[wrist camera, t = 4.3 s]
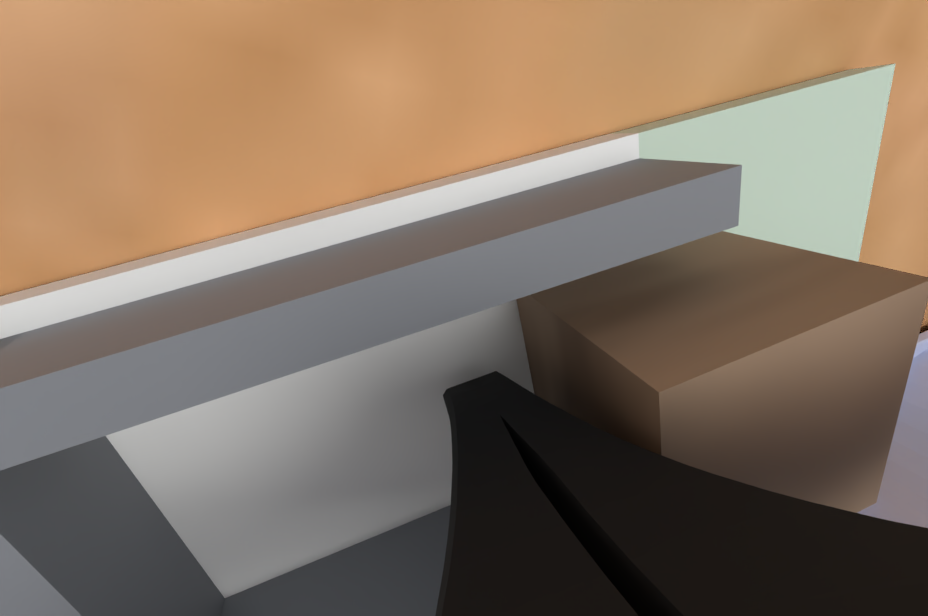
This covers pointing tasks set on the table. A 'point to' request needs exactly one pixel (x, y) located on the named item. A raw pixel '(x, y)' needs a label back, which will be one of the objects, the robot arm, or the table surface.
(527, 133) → the table surface
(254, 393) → the bay board
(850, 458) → the walnut cube
